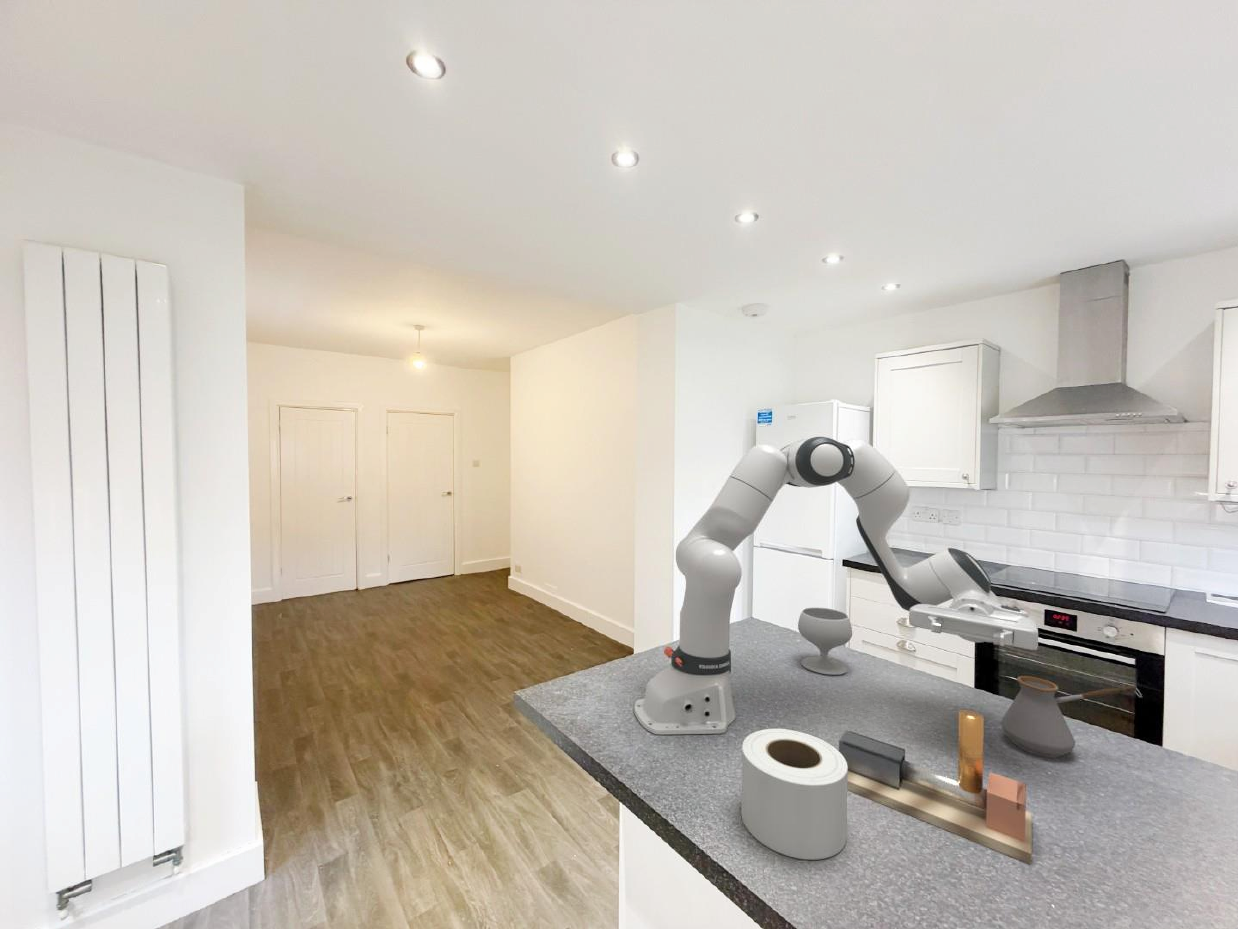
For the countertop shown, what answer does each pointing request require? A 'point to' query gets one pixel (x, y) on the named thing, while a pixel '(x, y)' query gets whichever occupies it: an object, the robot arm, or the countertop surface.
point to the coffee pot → (1044, 717)
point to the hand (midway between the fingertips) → (966, 634)
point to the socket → (1006, 806)
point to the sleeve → (872, 758)
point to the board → (943, 814)
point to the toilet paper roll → (794, 793)
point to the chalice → (824, 637)
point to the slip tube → (969, 766)
